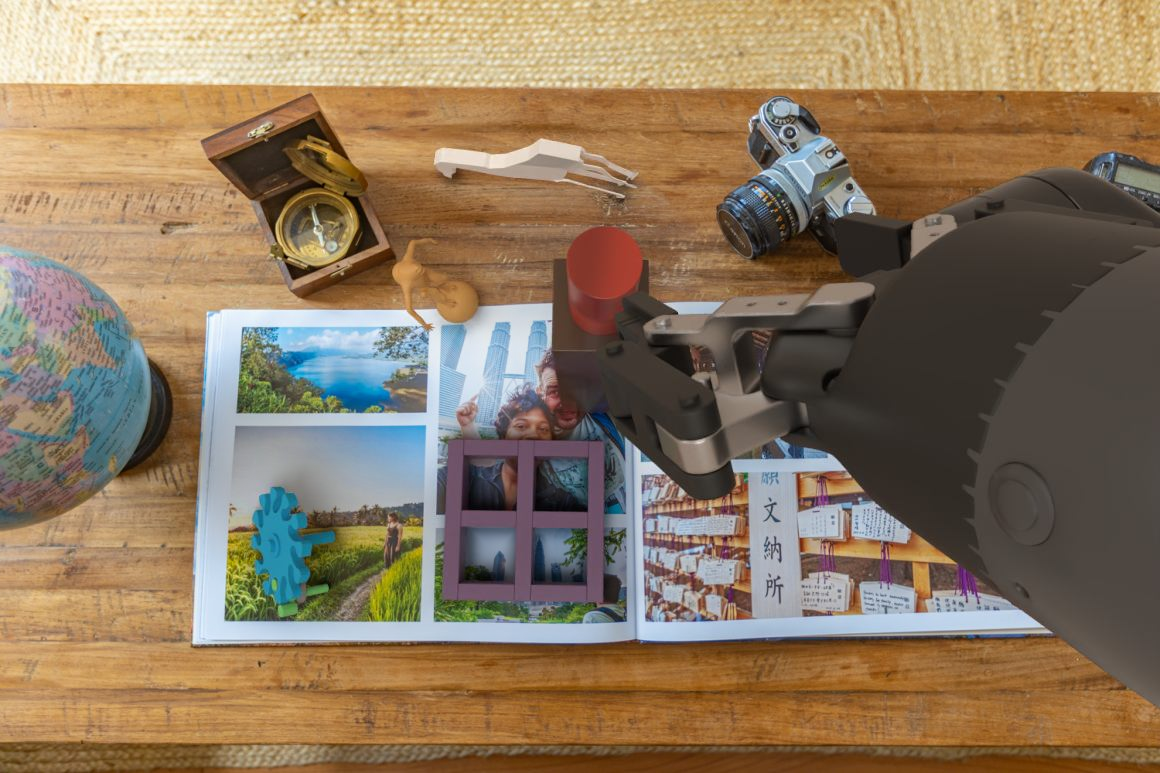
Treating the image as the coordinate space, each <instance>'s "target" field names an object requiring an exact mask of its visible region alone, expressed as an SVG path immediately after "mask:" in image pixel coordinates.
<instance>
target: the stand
mask: <svg viewBox="0 0 1160 773" xmlns="http://www.w3.org/2000/svg"><path fill="white" fill-rule="evenodd" d="M566 259H567V258H561V257H560V258H553V263H552V264H553V265H552V266H553V267H552V270H553V272H552V308H551V309H552V310H551V313H552V314H551V354H552V361H553V366H554V372H555V378H556V384H557V388H558V396H559V401H560V405H561V411H562V413H598V414H599V413H601V414H603V413H605V414H606V413H608V414H609V413H610V414H612V413H611V409H610V406H609V403H608V399H607V396H606V393H605V389H604V386H603V383H602V379H601V376H600V373H599V369H598V366H597V362H596V359H595V355H594V354H595V352H596V351H597V350H598V349H599V348H601V347H603V346H605V345H607V344H609V343H611V342H615V341H620V339H619V335H618V332H616V333H614V334H611V335H606V336H596V335H592V334H589V333H587V332H585V331H583V330H582V329H580V328H579V327H578V326H577V325H576V324H575V322H574V321H573V319H572V317H571V314H570V311H569V300H568V284H567V268H566ZM639 291H643V292H645V293H647V294H648V295H650V261H649V259H643V268H642V273H641V277H640V282H639V286H638V290H637V292H639Z"/></svg>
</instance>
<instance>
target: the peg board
mask: <svg viewBox="0 0 1160 773" xmlns="http://www.w3.org/2000/svg"><path fill="white" fill-rule="evenodd" d="M447 444H448V446H447V464H446V465H447V467H446V468H447V470H446V490H445V494H446V495H445V512H444V513H445V515H444V534H443V535H444V536H443V559H442V581H441V582H442V583H441V601H467V602H468V601H475V602H477V601H478V602H479V601H480V602H535V603H536V602H538V603H539V602H540V603H541V602H542V603H543V602H546V603H604V575H605V574H604V573H605V572H604V570H605V569H604V565H605V562H604V560H605V559H604V558H605V556H604V554H605V461H606V460H605V449H606V448H605V446H606V444H605V440H556V439H555V440H552V439H544V440H543V439H535V440H534V439H483V438H482V439H481V438H480V439H472V438H465V439H464V438H449V439H448V443H447ZM471 460H517V488H516V510H482V509H481V510H480V509H478V510H476V509H475V510H474V509H473V510H470V509H469V494H470V493H469V491H470V490H469V489H470V466H471ZM538 461H587V511H553V510H552V511H545V510H544V511H543V510H536V504H537V502H536V501H537V500H536V499H537V462H538ZM469 527H470V528H515V555H514V580H466V572H467V571H466V568H467V542H468V541H467V540H468V528H469ZM536 528H537V529H542V528H543V529H587V538H586V540H587V541H586V542H587V543H586V581H535V549H536V548H535V546H536V545H535V542H536V541H535V540H536V539H535V538H536Z"/></svg>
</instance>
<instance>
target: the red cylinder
mask: <svg viewBox="0 0 1160 773" xmlns="http://www.w3.org/2000/svg"><path fill="white" fill-rule="evenodd" d="M565 259H566V268H567V284H568V300H569V311H570V314H571V317H572V319H573V321H574V322H575V324H576V325H577V326H578V327H579V328H580V329H582V330H583V331H585V332H587V333H589V334H592V335H596V336H606V335H611V334H614V333H616V332H617V328H616V325H615V321H614V316H615V314H616V313H618V312H621V311H624V309H623V305H622V298H623V297H625V296H628V295H630V294H633V293H636V292H637V290H638V286H639V282H640V277H641V273H642V268H643V260H644V258H643V254H642V251H641V248H640V246H639V244H638V242H637V241H636V240H635V239H634V238H633V236H632V235H630V234H629V233H628V232H626V231H624V230H622V229H620V228H618V227H614V226H609V225H601V226H600V225H599V226H595V227H591V228H588V229H586V230H584V231H583V232H581V233H580V234H578V236H577V237H576V238H575V239H574V240H573V241H572V242H571V244H570V246H569V248H568V251H567V254H566V258H565Z"/></svg>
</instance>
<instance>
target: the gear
mask: <svg viewBox="0 0 1160 773" xmlns="http://www.w3.org/2000/svg"><path fill="white" fill-rule="evenodd" d="M286 491H287V490H286V488H284V487H283V486H281V485H279V486H271V487H270V488H269V493H262V494H260V495H259V496H258V501H259V505H260V508H261V509H255V510H254V512H253V514H252V517H251V519H252V523H253V524H254V525H255V526H256V528H257V530H258V533H254V534H252V535H251V539H250V547H251V549H252V550H258V551H259V552H260V554H261V556H262V558H260V559H256V560H255V561H254V570H255V575H257V576H260V575H265V574H269V578H268V579H265V580H263V581H262V590H263V592H264V594H265V596H272V595H273V600H274V601H275V603H276V604H278V606H277V614H278V617H279V618H285V617H290V616H293V615H297V614H298V612H299V607H298V604H301V603H305V601H306V599H307V597H310V596H314V595H319V594H324V593H328V592H329V589H330V588H329V585H328V583H323V584H318V585H313V586H308V587H307V585H306V584H307V582H308V581H309V579H310V576H311V571H310V568H309V567H308V566H307V565H306V559H305V557H311V555H312V549H313V548H312V547H313V546H318V545H325V544H330V543H331V544H332V543H334V542H335V541H336V534H335V532H334V531H333V530H328V531H322V532H315V533H309V534H303V533H302V532H298V530H302V529H306V528H307V527H308V519H307V518H308V517H307V513H306V512H297V513H293V514H291V512H292V509H295V508H297V507H298V505H299V501H298V500H299V499H298V497H297V495H296V494H295V492H286Z"/></svg>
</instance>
